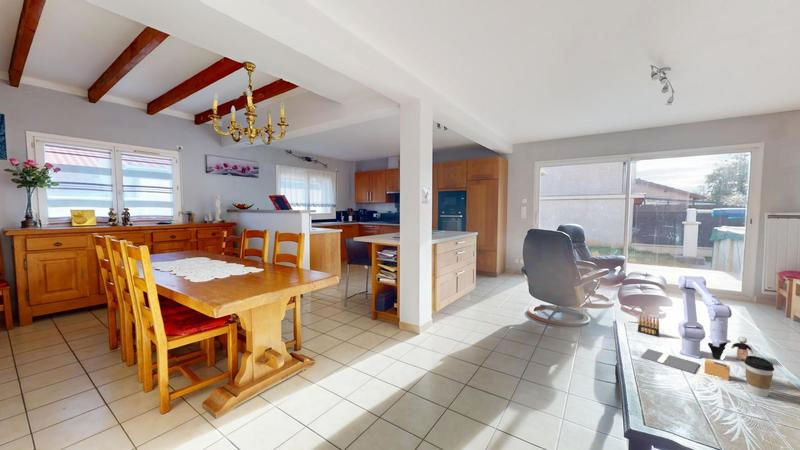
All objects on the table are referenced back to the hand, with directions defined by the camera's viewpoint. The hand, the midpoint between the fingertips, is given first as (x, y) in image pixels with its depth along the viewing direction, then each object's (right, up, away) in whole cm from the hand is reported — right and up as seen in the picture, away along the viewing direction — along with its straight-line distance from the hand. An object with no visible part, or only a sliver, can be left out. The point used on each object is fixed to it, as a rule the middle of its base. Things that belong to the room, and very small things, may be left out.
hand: (717, 356), depth 144 cm
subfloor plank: (-10, -9, +14) cm, 20 cm away
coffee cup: (+3, -10, -13) cm, 17 cm away
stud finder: (0, -10, +1) cm, 10 cm away
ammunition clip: (+7, -7, +48) cm, 49 cm away
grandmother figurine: (+28, -8, +14) cm, 33 cm away
